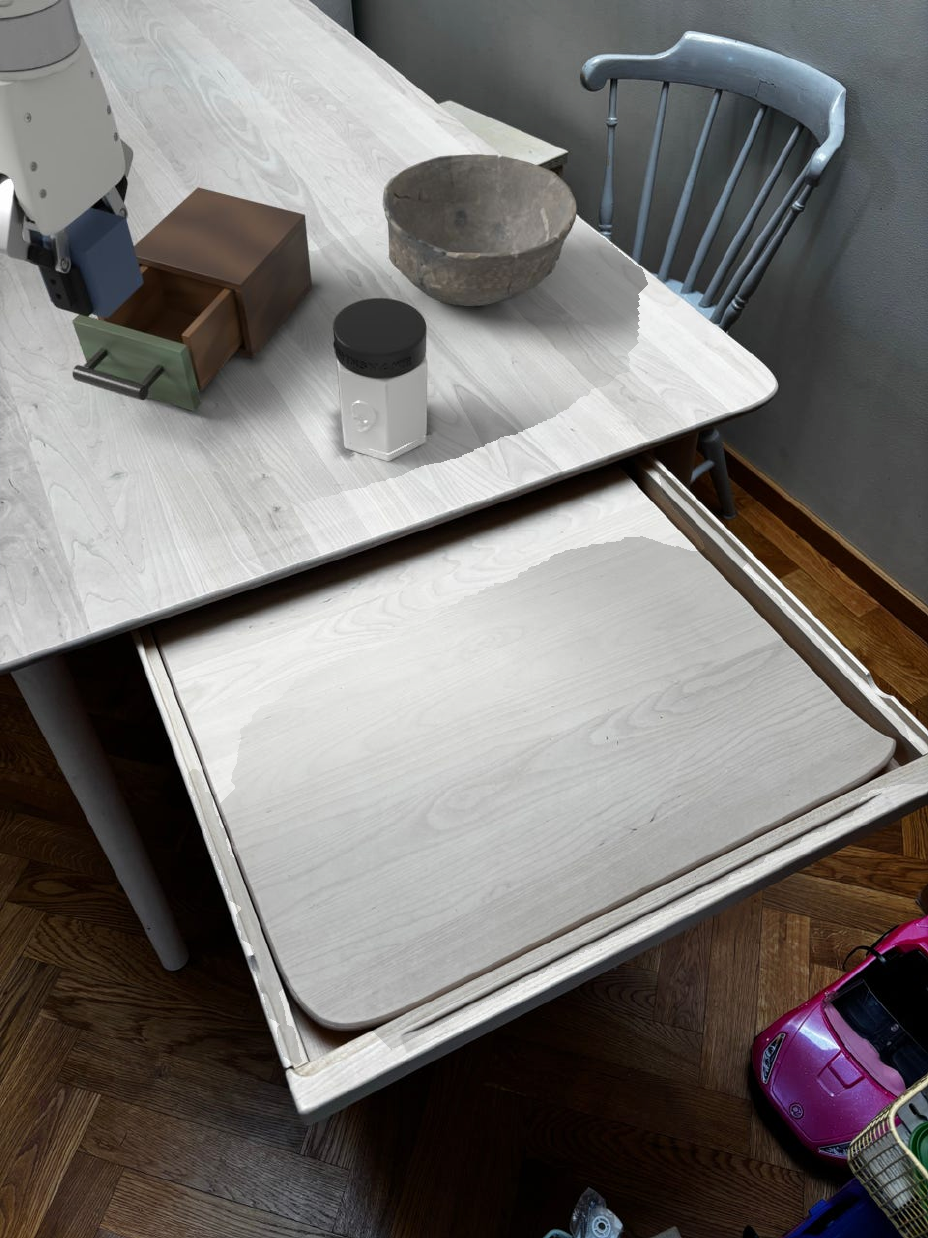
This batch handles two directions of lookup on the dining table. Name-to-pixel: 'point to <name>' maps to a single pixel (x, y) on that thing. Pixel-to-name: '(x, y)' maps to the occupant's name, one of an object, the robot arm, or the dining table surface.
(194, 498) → the dining table surface
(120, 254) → the block
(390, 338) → the jar
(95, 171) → the robot arm
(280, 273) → the cabinet
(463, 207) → the bowl
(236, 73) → the dining table surface
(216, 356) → the drawer
